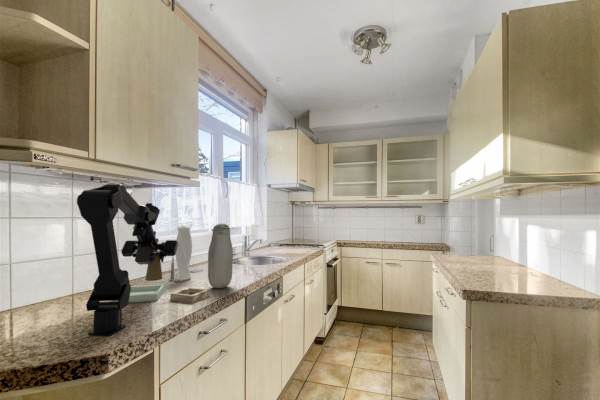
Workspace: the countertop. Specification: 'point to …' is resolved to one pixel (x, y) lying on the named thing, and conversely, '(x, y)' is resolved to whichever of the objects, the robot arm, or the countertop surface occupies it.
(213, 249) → the grey bottle
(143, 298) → the sage green tray
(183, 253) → the skyscraper
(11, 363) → the countertop surface
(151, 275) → the cork
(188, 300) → the wooden collar
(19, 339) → the countertop surface
